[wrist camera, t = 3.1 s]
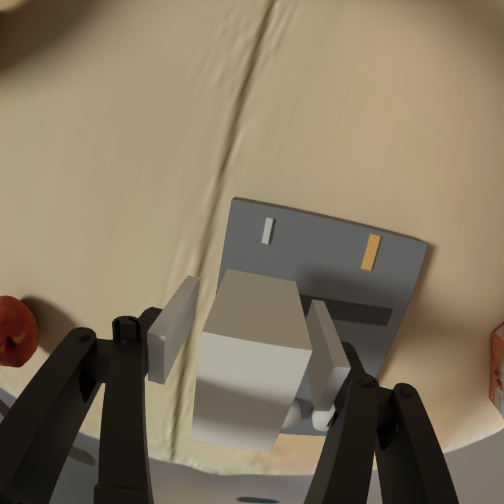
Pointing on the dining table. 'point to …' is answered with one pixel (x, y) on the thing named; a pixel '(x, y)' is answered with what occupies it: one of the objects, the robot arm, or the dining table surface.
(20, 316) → the fruit
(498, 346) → the cracker box
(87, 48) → the dining table surface
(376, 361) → the console
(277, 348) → the block
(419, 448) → the robot arm
